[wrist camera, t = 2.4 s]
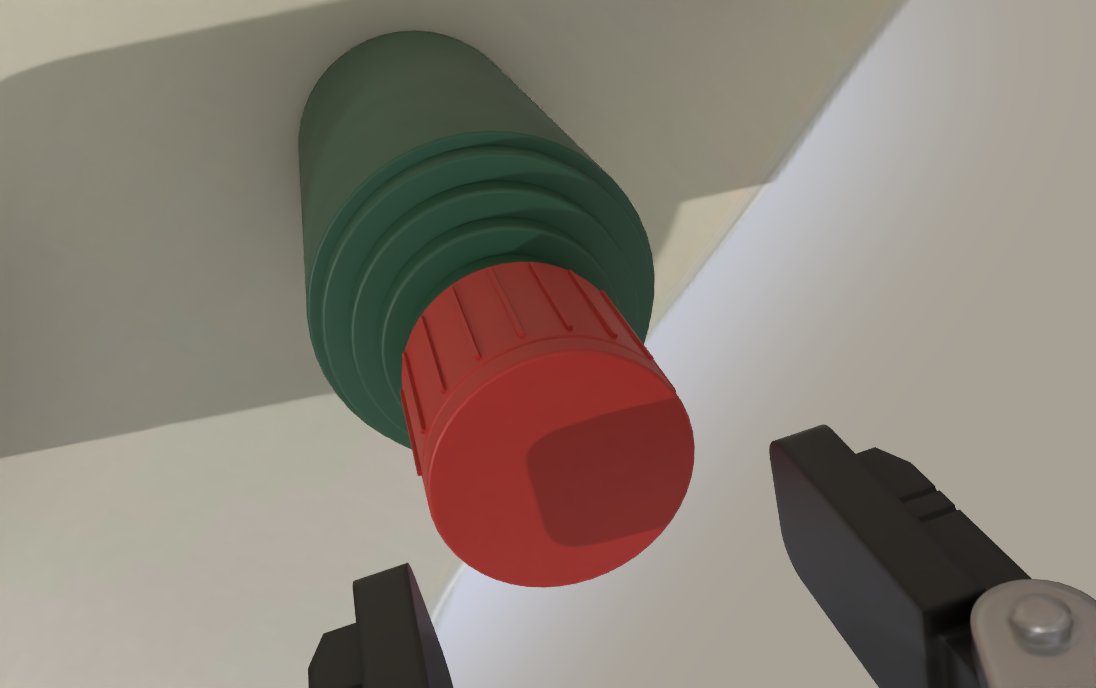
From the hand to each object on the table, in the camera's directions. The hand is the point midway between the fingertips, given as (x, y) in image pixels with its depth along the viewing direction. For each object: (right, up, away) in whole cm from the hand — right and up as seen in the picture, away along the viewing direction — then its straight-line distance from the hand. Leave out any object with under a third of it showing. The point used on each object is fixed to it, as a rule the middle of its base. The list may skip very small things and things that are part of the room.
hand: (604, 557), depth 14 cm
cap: (-1, +2, +5) cm, 6 cm away
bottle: (-5, +9, +19) cm, 22 cm away
